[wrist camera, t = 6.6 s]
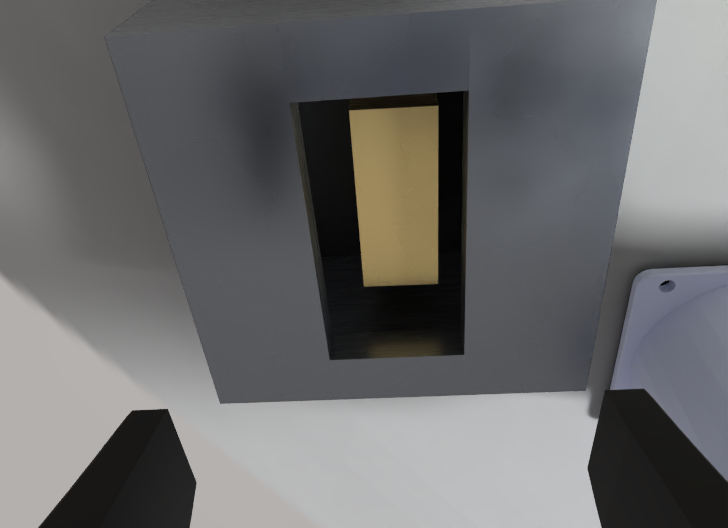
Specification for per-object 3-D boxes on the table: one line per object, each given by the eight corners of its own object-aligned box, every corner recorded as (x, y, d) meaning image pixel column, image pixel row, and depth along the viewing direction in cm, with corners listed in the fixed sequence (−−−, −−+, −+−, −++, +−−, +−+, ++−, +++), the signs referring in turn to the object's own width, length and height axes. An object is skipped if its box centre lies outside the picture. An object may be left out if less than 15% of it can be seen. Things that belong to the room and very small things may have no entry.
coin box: (577, -57, 15) (657, -7, 11) (542, 269, 21) (585, 390, 17) (182, -24, 16) (104, 37, 11) (254, 284, 22) (220, 403, 17)
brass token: (428, 50, 17) (438, 105, 14) (429, 208, 20) (437, 284, 17) (356, 55, 17) (348, 110, 14) (367, 210, 20) (364, 286, 17)
